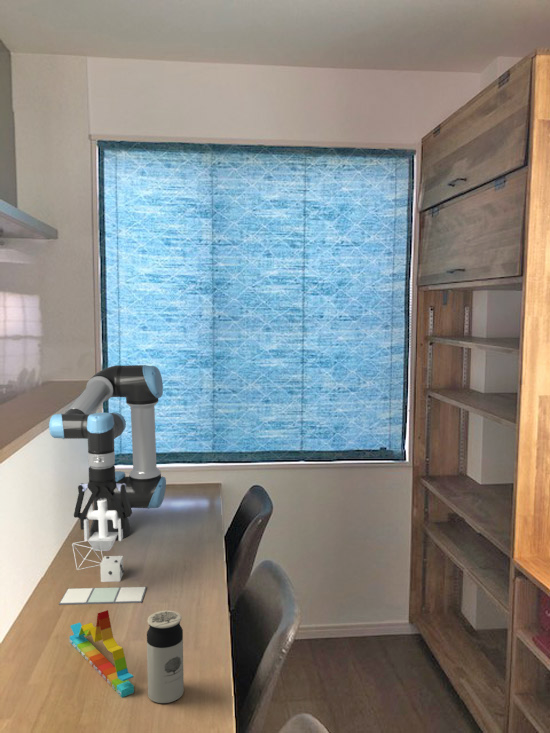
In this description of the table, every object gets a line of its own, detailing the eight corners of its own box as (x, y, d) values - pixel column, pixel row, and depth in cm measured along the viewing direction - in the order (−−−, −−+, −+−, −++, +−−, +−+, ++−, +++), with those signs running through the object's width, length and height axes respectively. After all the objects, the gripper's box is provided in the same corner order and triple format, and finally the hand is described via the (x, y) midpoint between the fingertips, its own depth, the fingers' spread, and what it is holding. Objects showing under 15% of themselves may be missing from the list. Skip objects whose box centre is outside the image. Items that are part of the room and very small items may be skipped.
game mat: (67, 589, 200) (67, 588, 200) (146, 587, 202) (146, 586, 202) (58, 604, 190) (58, 603, 190) (141, 602, 192) (141, 601, 192)
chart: (68, 643, 170) (66, 588, 168) (80, 639, 172) (78, 584, 170) (120, 699, 146) (119, 635, 145) (133, 693, 148) (132, 630, 147)
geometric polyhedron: (107, 559, 224) (106, 537, 223) (100, 569, 215) (100, 547, 214) (76, 559, 224) (76, 538, 223) (69, 570, 215) (68, 548, 214)
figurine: (116, 553, 191) (114, 503, 189) (84, 552, 191) (82, 502, 189) (122, 543, 198) (121, 495, 196) (91, 543, 198) (90, 495, 197)
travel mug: (144, 688, 150) (142, 613, 148) (178, 680, 153) (177, 606, 151) (152, 708, 143) (151, 629, 141) (187, 699, 146) (186, 622, 144)
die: (104, 574, 212) (104, 554, 211) (124, 573, 212) (124, 554, 211) (100, 582, 205) (100, 563, 205) (121, 582, 206) (120, 562, 205)
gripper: (60, 469, 188) (62, 544, 190) (137, 468, 188) (138, 543, 191) (67, 462, 195) (70, 535, 198) (141, 462, 196) (143, 534, 198)
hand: (103, 539), depth 194 cm, fingers closed on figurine, 9 cm apart
